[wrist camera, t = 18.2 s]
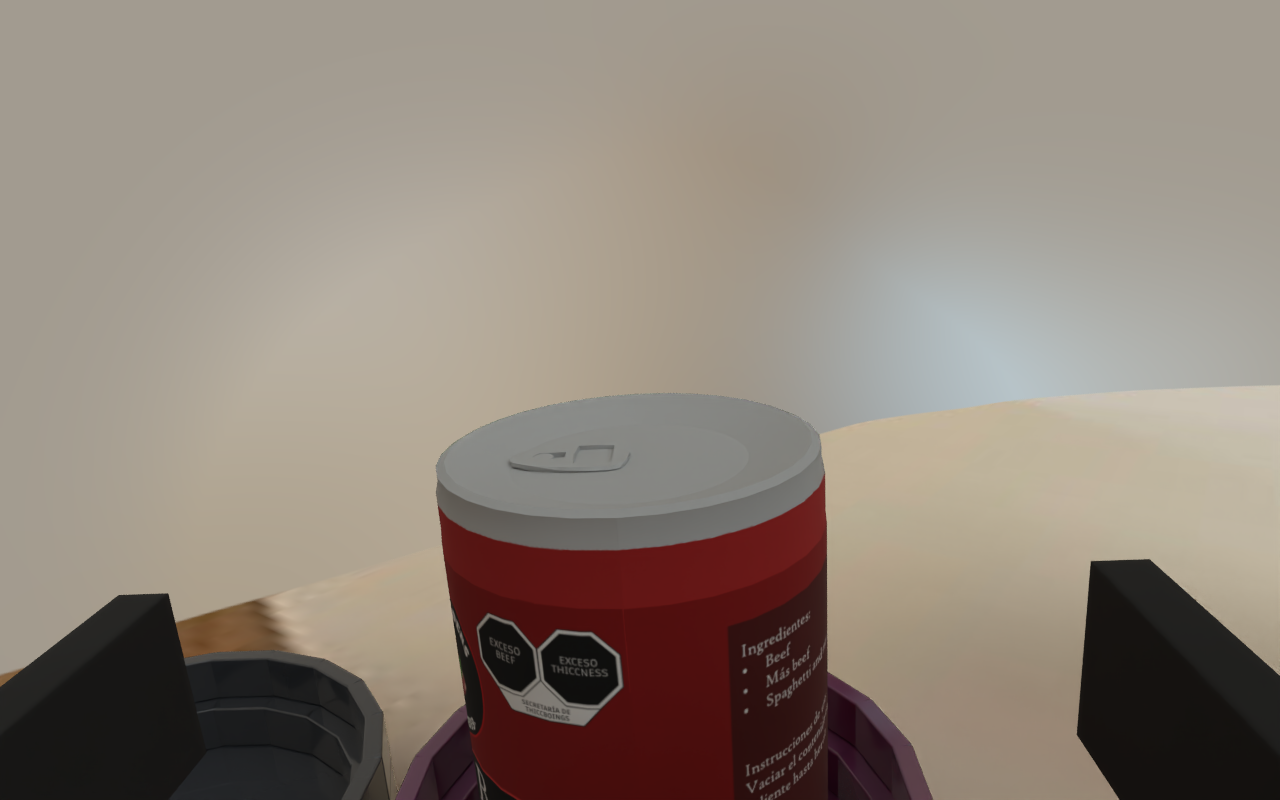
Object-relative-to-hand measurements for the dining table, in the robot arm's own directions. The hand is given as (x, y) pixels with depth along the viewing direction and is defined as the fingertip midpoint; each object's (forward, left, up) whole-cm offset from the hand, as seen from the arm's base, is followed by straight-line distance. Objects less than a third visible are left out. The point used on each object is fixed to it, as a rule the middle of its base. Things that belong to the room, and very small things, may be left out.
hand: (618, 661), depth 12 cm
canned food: (0, -6, -10) cm, 12 cm away
